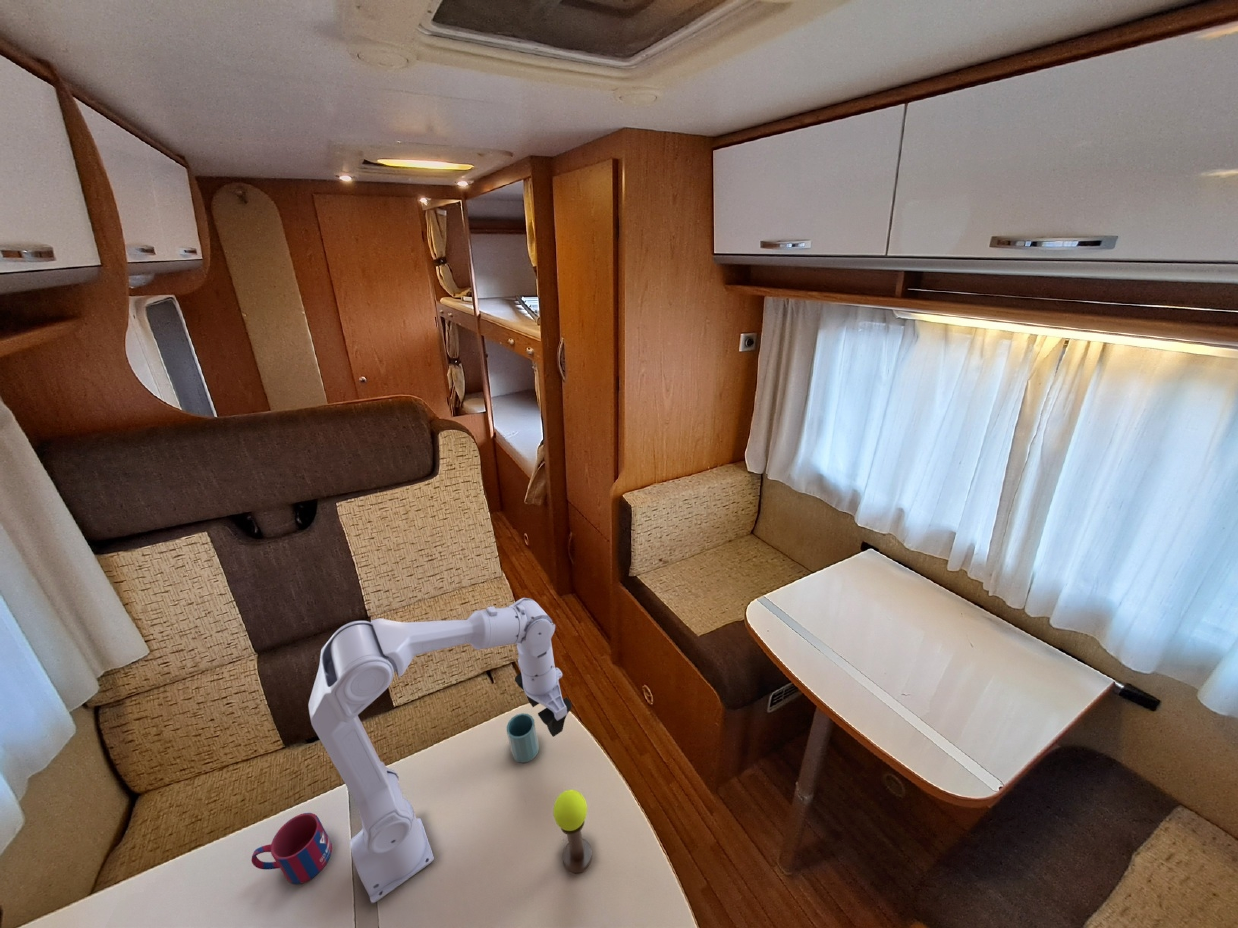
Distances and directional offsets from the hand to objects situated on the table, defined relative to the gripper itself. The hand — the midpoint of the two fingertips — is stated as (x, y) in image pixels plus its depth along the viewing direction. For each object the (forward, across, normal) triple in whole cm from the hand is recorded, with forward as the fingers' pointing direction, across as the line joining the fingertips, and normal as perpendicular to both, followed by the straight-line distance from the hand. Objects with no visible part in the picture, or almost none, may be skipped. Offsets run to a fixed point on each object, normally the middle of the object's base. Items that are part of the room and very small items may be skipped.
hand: (546, 717), depth 89 cm
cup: (+10, +10, +42) cm, 44 cm away
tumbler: (+10, +4, +4) cm, 12 cm away
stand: (+10, -18, +5) cm, 21 cm away
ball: (0, -18, +5) cm, 19 cm away
